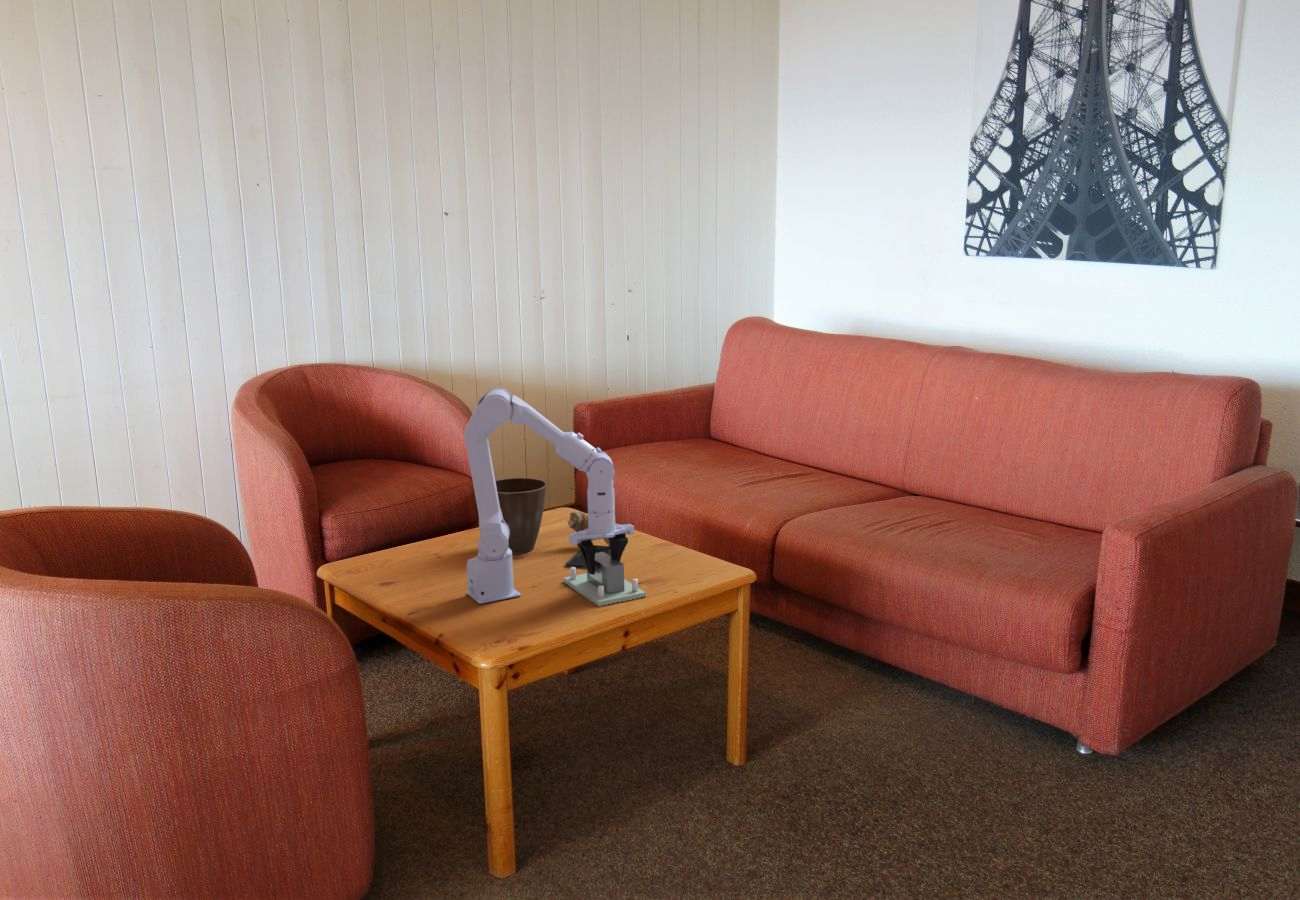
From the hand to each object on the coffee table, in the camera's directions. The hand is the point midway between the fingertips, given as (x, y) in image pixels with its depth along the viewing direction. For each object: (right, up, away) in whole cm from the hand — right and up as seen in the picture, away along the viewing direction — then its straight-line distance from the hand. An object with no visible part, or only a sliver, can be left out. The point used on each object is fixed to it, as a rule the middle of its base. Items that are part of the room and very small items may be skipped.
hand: (603, 571), depth 238 cm
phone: (-4, 0, +22) cm, 23 cm away
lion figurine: (-3, +2, +29) cm, 29 cm away
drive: (0, -3, 0) cm, 3 cm away
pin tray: (0, -4, +1) cm, 4 cm away
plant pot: (-22, +2, +31) cm, 38 cm away
